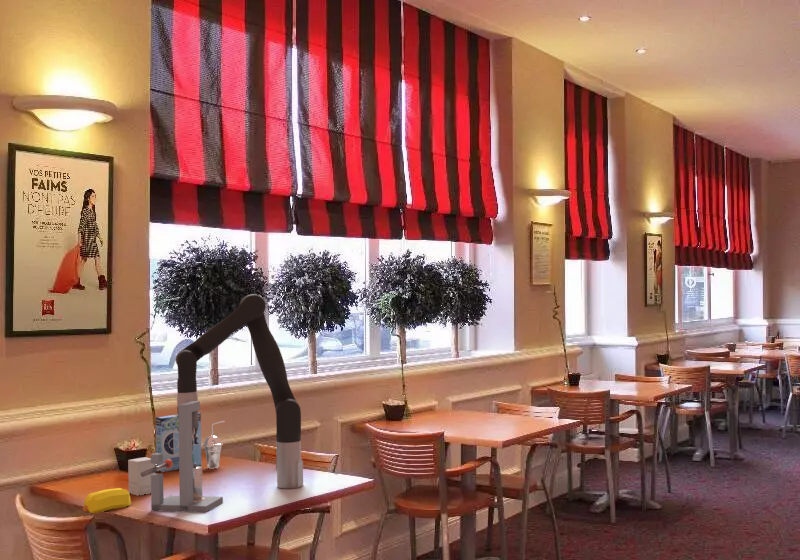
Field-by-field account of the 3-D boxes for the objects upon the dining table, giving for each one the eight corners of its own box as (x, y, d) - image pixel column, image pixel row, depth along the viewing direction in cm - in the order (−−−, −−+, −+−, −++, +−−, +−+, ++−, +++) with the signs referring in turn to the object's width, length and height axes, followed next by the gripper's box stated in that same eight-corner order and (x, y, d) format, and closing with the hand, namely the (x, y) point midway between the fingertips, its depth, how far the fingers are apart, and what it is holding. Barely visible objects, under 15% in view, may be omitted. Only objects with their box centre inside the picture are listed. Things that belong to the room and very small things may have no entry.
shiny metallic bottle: (204, 498, 301) (204, 462, 301) (198, 501, 297) (198, 464, 297) (192, 497, 302) (191, 461, 302) (185, 500, 298) (185, 464, 298)
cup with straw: (207, 465, 373) (206, 419, 373) (227, 466, 371) (226, 419, 372) (200, 469, 364) (199, 422, 365) (220, 469, 363) (219, 422, 363)
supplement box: (156, 492, 321) (155, 458, 322) (137, 496, 316) (137, 461, 316) (146, 490, 326) (145, 456, 327) (128, 493, 321) (127, 459, 321)
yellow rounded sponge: (136, 506, 301) (125, 503, 306) (136, 487, 301) (124, 484, 307) (88, 516, 288) (77, 513, 293) (88, 496, 288) (77, 493, 293)
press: (222, 502, 303) (221, 400, 304) (206, 512, 289) (204, 405, 290) (170, 501, 307) (168, 400, 308) (151, 510, 293) (149, 404, 294)
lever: (174, 467, 304) (174, 458, 304) (147, 479, 285) (147, 469, 285) (166, 467, 305) (165, 458, 305) (138, 479, 285) (138, 469, 286)
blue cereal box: (196, 464, 377) (195, 411, 378) (202, 465, 374) (201, 412, 374) (155, 471, 364) (155, 416, 364) (161, 472, 360) (160, 417, 361)
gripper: (189, 406, 310) (191, 454, 310) (204, 401, 323) (206, 448, 323) (170, 406, 312) (171, 454, 311) (185, 402, 325) (187, 448, 324)
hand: (189, 451), depth 317 cm, fingers closed
